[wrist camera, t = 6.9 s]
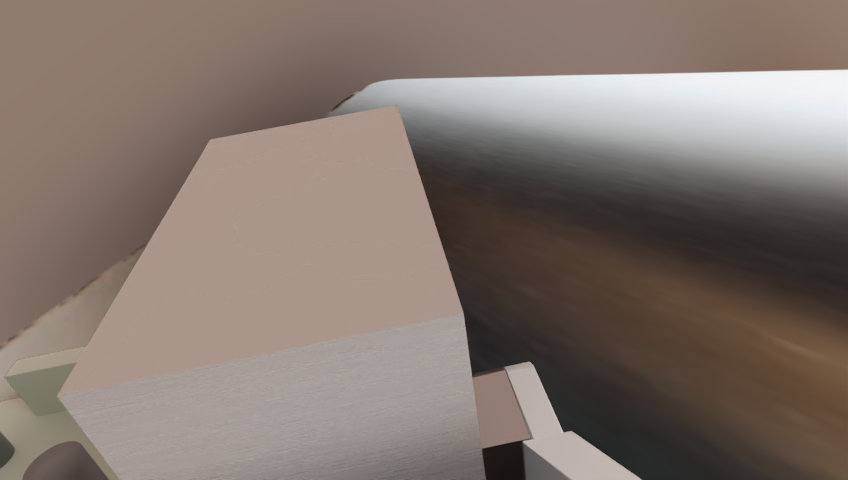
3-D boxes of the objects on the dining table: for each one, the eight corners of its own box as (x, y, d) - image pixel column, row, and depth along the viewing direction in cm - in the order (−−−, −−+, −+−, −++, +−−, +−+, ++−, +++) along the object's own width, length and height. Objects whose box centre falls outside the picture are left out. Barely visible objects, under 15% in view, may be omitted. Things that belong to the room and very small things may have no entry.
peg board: (285, 363, 20) (243, 257, 18) (246, 682, 12) (153, 570, 9) (-31, 428, 20) (-123, 329, 17) (-310, 810, 11) (-581, 732, 9)
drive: (461, 470, 15) (398, 104, 10) (522, 742, 10) (465, 312, 4) (345, 495, 15) (209, 140, 9) (348, 783, 10) (54, 396, 4)
